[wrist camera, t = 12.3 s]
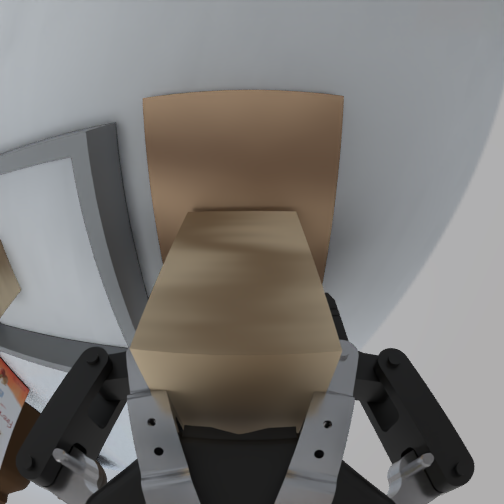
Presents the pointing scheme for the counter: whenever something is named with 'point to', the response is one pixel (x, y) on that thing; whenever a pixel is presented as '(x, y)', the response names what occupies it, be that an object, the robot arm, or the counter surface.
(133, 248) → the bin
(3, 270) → the plain box
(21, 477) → the olive oil
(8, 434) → the cracker box
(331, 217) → the board
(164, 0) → the counter surface
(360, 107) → the counter surface
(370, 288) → the counter surface
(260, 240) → the tan box
